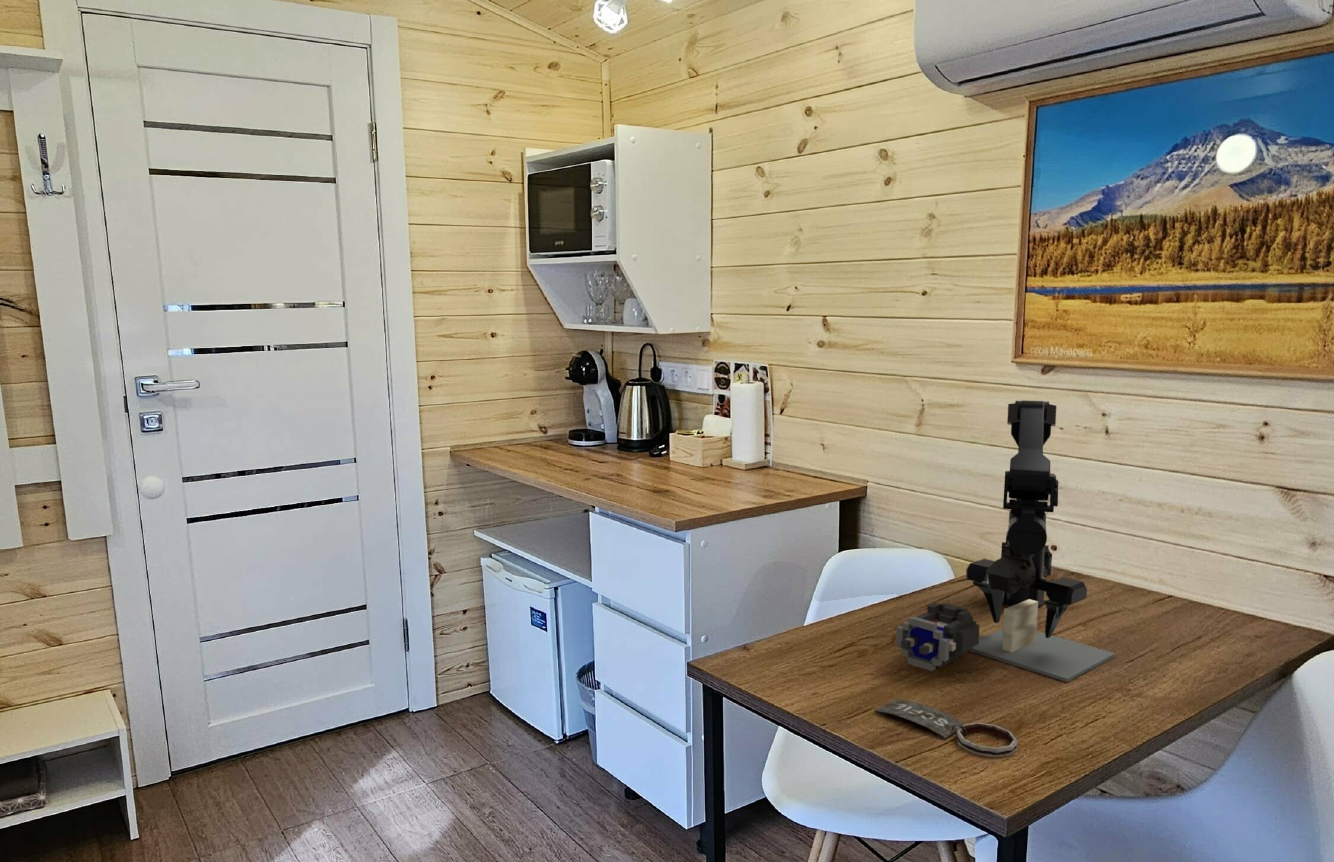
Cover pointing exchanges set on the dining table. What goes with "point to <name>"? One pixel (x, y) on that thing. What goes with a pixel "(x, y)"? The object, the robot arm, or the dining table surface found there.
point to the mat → (1045, 655)
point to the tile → (1020, 625)
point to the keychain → (949, 726)
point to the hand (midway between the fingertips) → (1021, 629)
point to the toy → (937, 636)
